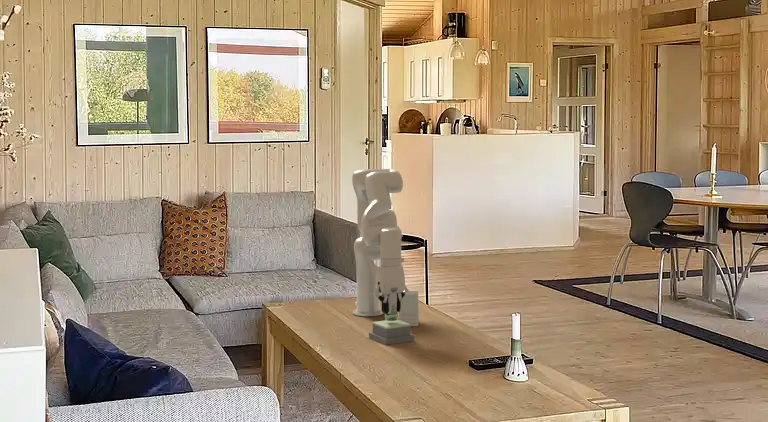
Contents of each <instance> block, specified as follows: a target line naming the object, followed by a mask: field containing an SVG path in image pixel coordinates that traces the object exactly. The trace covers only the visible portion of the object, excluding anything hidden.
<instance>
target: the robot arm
mask: <svg viewBox="0 0 768 422" xmlns="http://www.w3.org/2000/svg"><path fill="white" fill-rule="evenodd" d="M351 183H352V187H353V190H354V194H355V197H356V204H357V211H356V212H357V213H356V215H357V216H356V217H357V218H356V219H357V223H356V224H357V228H358V231H359V232H360V233H361V235H362V236H361V237H358V238H356V239H355V241H354V243H353V251H354V257H355V270H356V273H355V274H356V275H355V276H356V301H355V302H354V304H355V306H356V308H355V309H353V310H352V314H353V315H354V316H358V317H378V316H382V315H385V314H388V303H387V297H388V294H391V293H392V291H391V288H398V290H397V291H396V293H397V313H399V312H400V309H401V301H402V298H403V297H404V296H405V294H406V293H407V292H408V291H410V290H409V288H408V287H407V285H406V277H405V271H404V266H403V265H402V263H404V262H405V259H404V257H402V239H403V238H402V237H403V236H402V235H403V234H402V229H400V227H399V226H398V219H397V214H396V212H395V211H394V210H392V209H391V208H392V205H393V203H392V199H391V198H392V197H391V194H398V193H402V190H403V187H404V181H403V176H402V175H401V173H400V172H399V171H397V170H396V169H394V168H367V169H358V170H356V171H354V172H353V173H352V176H351ZM378 260H380V261H379V262H380V266H377V265H376V263H375V262H374V261H378Z"/></svg>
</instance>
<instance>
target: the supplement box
mask: <svg viewBox="0 0 768 422" xmlns="http://www.w3.org/2000/svg"><path fill="white" fill-rule="evenodd" d="M419 307H420V306H419V290H409V291H408V292H407V293H406V294H405V296H404V297H403V298H402V301H401V309H400V312H398V320H400V321H403V322H406V323H409V324H410V327H418V326H419V323H420V321H419V319H420V318H419V316H420V315H419V313H420V311H419Z"/></svg>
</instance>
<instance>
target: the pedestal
mask: <svg viewBox="0 0 768 422" xmlns="http://www.w3.org/2000/svg"><path fill="white" fill-rule="evenodd" d="M368 339H370V340H373V341H375V342H378V343H380V344H382V345H383V346H384V345H385V346H387V345H394V344H400V343H406V342H414V341H415V334H412V333H411V326H410V324H409V323H406V322H403V321H400V320H399V318H397V320H395V321H387V320H385V319H384V320H380V321H379V320H377V321H372V331H370V332H368Z"/></svg>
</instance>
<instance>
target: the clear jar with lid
mask: <svg viewBox="0 0 768 422" xmlns="http://www.w3.org/2000/svg"><path fill="white" fill-rule="evenodd" d="M397 290H398V288H391V291H392V293H391V294H388V297H387V303H388V314H385V313H384V320H387V321H395V320H397V319H398V318H399V312H397V293H396V291H397Z"/></svg>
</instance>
